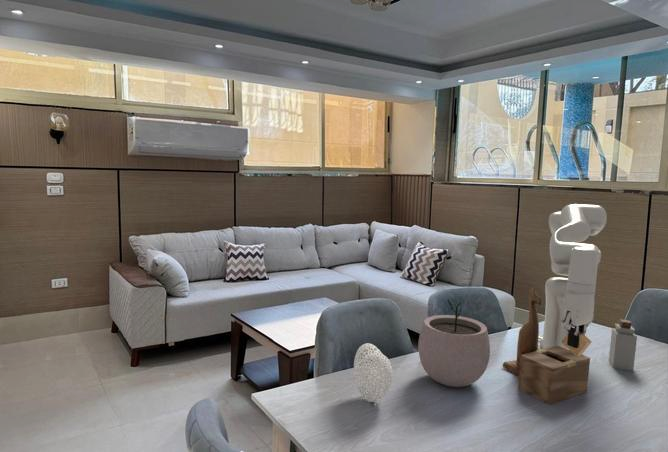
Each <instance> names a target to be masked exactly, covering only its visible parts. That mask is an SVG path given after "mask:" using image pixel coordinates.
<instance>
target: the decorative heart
mask: <svg viewBox="0 0 668 452" xmlns="http://www.w3.org/2000/svg"><path fill="white" fill-rule="evenodd" d="M393 371H394V370H393V366H392V364H391V361H390V360H389V358H388V357H387V356H386V355H384V354H383V353H382V351H381V350H380V349H379V348H378V347H377V346H376V345H374V344H372V343H370V342H367V343H363V344H362V345H361V346H359V348H357V350H356V353H355V356H354V361H353V374H354V380H355V384H356V387H357V390H358V392H359V393H360V395H361V397H362V398H363V399H364V400H365V401H366V402H369V403H374V405H373V406H374V407H376V404H377V403H376V401H378V409H379V410H380V409H381V399H383V397H384V396H386V395H387V393H388V392H389V390H390V388H391V385H392V382H393V378H394V377H393V376H394V375H393V374H394V373H393Z"/></svg>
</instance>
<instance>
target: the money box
mask: <svg viewBox="0 0 668 452" xmlns="http://www.w3.org/2000/svg"><path fill="white" fill-rule="evenodd" d="M590 363H591V357H589V356H586V355H584V354H582V355H581V356H577V357H576V356H575V355H574V354H573V353H572V352H571V351H570V350H568V349H565V348H562V347H560V346H554V347H550V348H546V349H542V350H537V351H535V352H531V353H527V354H523V355H520V367H519V376H518V381H517V389H518V390H519V391H521V392H523V393H525V394H527V395H529V396H531V397H533V398H535V399H537V400H538V401H541V402H543V403H545V404H546V405H548V406H551V405H554V404H556V403H560V402H562V401H565V400H567V399H571V398H573V397H576V396H579V395H582V394H584V393H587V392H588V383H589V375H590V373H589V372H590Z"/></svg>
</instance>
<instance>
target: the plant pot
mask: <svg viewBox="0 0 668 452" xmlns="http://www.w3.org/2000/svg"><path fill="white" fill-rule="evenodd" d="M461 300H462V299H461ZM461 300H459V302H458V304H457V305H455V309H454V307H452V304H451V302H450V301H449V299H447V302H448V304H449V306H450V309H451V311H453V312H454V313H455V314H453V315H452V314H438V315H437V314H436V315H432V316H428V317H426V318H425V319H424V321H423V323H422V326H421V329H420V333H419V337H418V345H417V347H418V348H417V349H418V356H419V359H420V364H421V366H422V367H423V370H424V371H425V373H426V374H427V375H428V376H429V377H430V378H431V379H433V380H434V381H436V382H437V383H438V384H442V385H443V386H447V387H451V388H453V387H455V388H461V387H466V386H470V385H472V384H473V383H475V382H477V381H478V380H480V379H481V377H482V376H483V375H484V373H485V372H486V370H487V368H488V365H489V361H490V354H491V345H490V336H489V332H488V328H487V326H486V324H484V323H483V322H481V321H479V320H476V319H474V318H470V317H465V316H461V315H460V314H461V312H462V307H460V309H459V306H461V304H462V302H461ZM458 310H459V312H458Z"/></svg>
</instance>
